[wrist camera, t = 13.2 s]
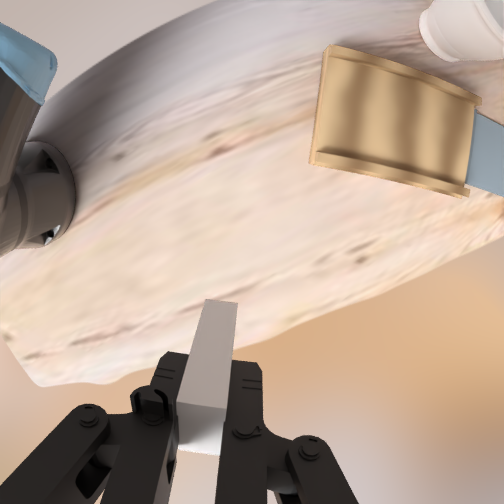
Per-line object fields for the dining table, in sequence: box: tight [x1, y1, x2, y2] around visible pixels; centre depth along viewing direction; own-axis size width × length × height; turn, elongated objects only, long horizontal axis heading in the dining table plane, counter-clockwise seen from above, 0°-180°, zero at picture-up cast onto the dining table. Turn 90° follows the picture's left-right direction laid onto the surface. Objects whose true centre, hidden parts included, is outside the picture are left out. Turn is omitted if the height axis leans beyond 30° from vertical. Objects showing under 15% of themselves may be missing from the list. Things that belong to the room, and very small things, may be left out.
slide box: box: [309, 44, 482, 199], centre depth 31 cm, size 20×14×5 cm
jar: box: [419, 0, 504, 62], centre depth 22 cm, size 11×10×15 cm
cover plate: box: [465, 109, 504, 197], centre depth 33 cm, size 12×10×3 cm
